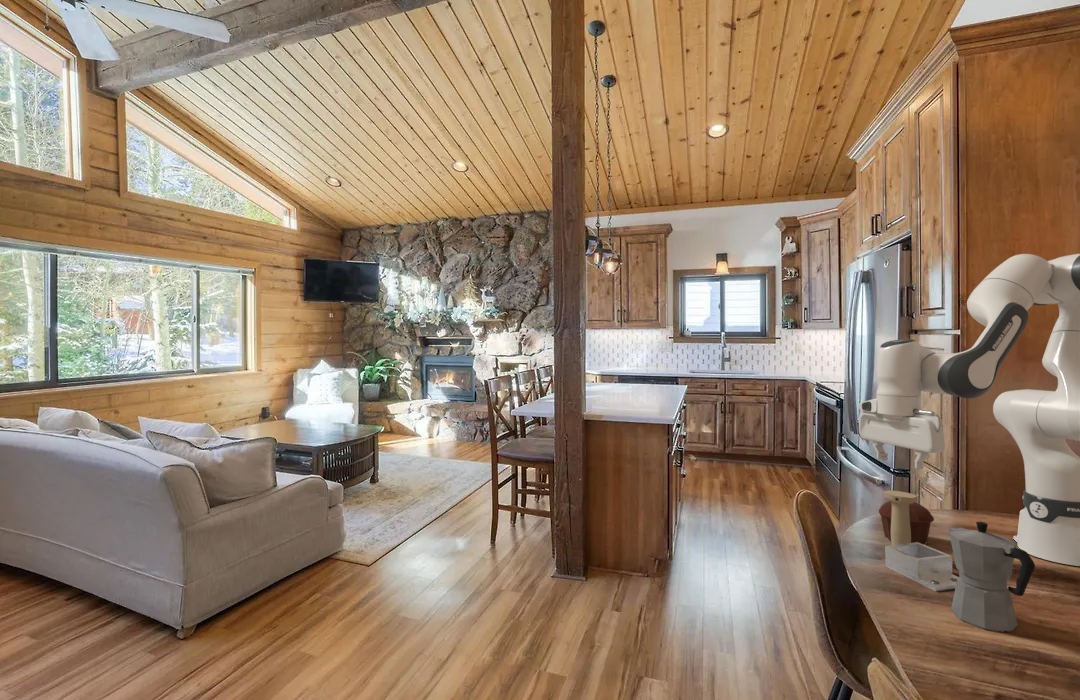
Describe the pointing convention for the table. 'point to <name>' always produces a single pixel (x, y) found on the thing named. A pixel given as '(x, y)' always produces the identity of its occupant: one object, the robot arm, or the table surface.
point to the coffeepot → (987, 577)
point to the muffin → (918, 521)
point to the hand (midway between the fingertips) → (899, 464)
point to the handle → (900, 515)
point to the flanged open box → (921, 565)
